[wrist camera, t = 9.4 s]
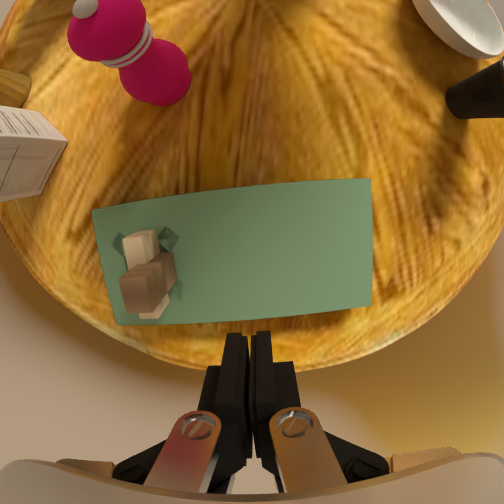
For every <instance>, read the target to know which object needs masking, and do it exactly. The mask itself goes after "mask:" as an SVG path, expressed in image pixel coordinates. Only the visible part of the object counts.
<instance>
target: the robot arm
mask: <svg viewBox="0 0 504 504" xmlns="http://www.w3.org/2000/svg"><path fill="white" fill-rule="evenodd" d="M253 437H254V444H255V450H256V457H257V458H261V460H262V467H263V468H265V469H266V470H268V471H269V472H271V473H272V474H273V476H274V481H275V485H276V489H277V493H274V494H250V495H249V494H248V495H247V494H246V495H245V494H241V495H240V494H239V495H238V494H231V491H232V487H233V483H234V480H235V473H236V472H237V471H239V470H240V469H241V468H243V466H246V459H247V458H252V443H253V441H252V440H253ZM0 504H504V459H503V458H502V457H500V456H498V455H496V454H492V453H484V452H480V453H466V454H461V453H460V452H459V451H458V450H457V449H455V448H452V447H442V448H436V449H431V450H425V451H418V452H411V453H402V454H393V455H392V457H389V458H383V457H382V456H380V455H378V454H376V453H374V452H371V451H369V450H366V449H364V448H361V447H359V446H356V445H354V444H352V443H350V442H347V441H345V440H343V439H341V438H338V437H336V436H334V435H332V434H330V433H328V432H326V431H324V430H323V429H322V426H321V424H320V422H319V420H318V418H317V416H316V415H315V414H314V413H313V412H312V411H310V410H308V409H305V408H301V404H300V398H299V392H298V387H297V381H296V376H295V370H294V364H293V361H288V362H276V363H273V357H272V345H271V332H270V331H257V332H256V335H251V352H250V357H249V348H248V339H247V336H242V333H241V332H240V333H227V336H226V341H225V347H224V352H223V358H222V363H221V366H208V368H207V371H206V376H205V380H204V384H203V388H202V392H201V397H200V401H199V405H198V409H197V411H193V412H189V413H187V414H184V415H183V416H181V417H180V418H179V419H178V420H177V422H176V423H175V425H174V427H173V429H172V431H171V433H170V435H169V437H168V439H166V440H164V441H162V442H161V443H159V444H157V445H155V446H153V447H151V448H149V449H147V450H145V451H143V452H141V453H138V454H136V455H134V456H132V457H130V458H128V459H126V460H124V461H122V462H120V463H119V464H118V465H114V464H113V462H102V461H87V460H76V459H61V460H59V461H57V462H56V463H54V462H49V461H42V460H30V459H24V460H15V461H12V462H10V463H8V464H7V465H6V466H4V467H3V468H2V469H1V470H0Z"/></svg>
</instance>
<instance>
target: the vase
mask: <svg viewBox="0 0 504 504" xmlns="http://www.w3.org/2000/svg"><path fill="white" fill-rule="evenodd" d="M30 87H31V79H30V77H29V76H28V75H27V74H20V73H16V72H12V71H9V70H4V69H0V105H1V106H8V107H14V108H19V107H20V106H21V105H22V104H23V103H24V102H25V100H26V98H27V96H28V94H29V91H30Z"/></svg>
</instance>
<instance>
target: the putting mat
mask: <svg viewBox="0 0 504 504" xmlns="http://www.w3.org/2000/svg"><path fill="white" fill-rule="evenodd" d="M91 212H92V218H93V224H94V230H95V236H96V241H97V247H98V252H99V256H100V261H101V266H102V270H103V274H104V279H105V283H106V287H107V291H108V295H109V298H110V302H111V306H112V309H113V313H114V316H115V320H116V323H117V325H162V324H190V323H210V322H226V321H240V320H253V319H264V318H275V317H285V316H295V315H304V314H312V313H321V312H328V311H336V310H343V309H350V308H357V307H364V306H371V296H372V271H373V220H372V195H371V179H364V178H352V179H330V180H313V181H298V182H285V183H273V184H262V185H252V186H242V187H233V188H224V189H216V190H208V191H200V192H192V193H185V194H178V195H171V196H165V197H158V198H152V199H146V200H140V201H134V202H128V203H123V204H117V205H112V206H107V207H103V208H98V209H94V210H91ZM150 229H156V231H157V238H158V243H159V244H160V245H161V246H163V247H164V248H165V249H166V250H168V251H169V252H171V251H173V256H174V262H175V268H176V273H177V281H176V282H175V283H174V285H173V286H172V287H171V289H170V290H169V291H168V297H169V301H170V302H169V304H168V305H167V307H166V308H165V310H164V311H163V313H162V314H161V316H160V317H159V319H140V316H139V313H127V312H126V309H125V305H124V301H123V297H122V293H121V289H120V285H119V281H118V279H119V278H120V277H121V276H123V275H124V274H125V273H126V272H128V266H127V261H126V256H125V251H124V246H123V241H122V239H123V238H125V237H127V236H129V235H131V234H133V233H135V232H138V231H142V230H150Z"/></svg>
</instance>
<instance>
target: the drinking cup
mask: <svg viewBox="0 0 504 504" xmlns="http://www.w3.org/2000/svg"><path fill="white" fill-rule="evenodd" d="M446 102H447V105H448V107H449V109H450V111H451V112H452V113H453V114H454V115H455V116H456V117H457V118H460V119H473V118H504V56H503V57H502V59H501V60H500V61H498V62H496V63H494V64H492V65H491V66H489V67H487V68H485V69H483V70H481V71H479V72H478V73H476V74H474V75H472V76H470V77H469V78H467V79H465V80H463V81H461V82H460V83H458V84H456V85H454V86H453V87H451V88H449V89H448V90H447V92H446Z"/></svg>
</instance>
